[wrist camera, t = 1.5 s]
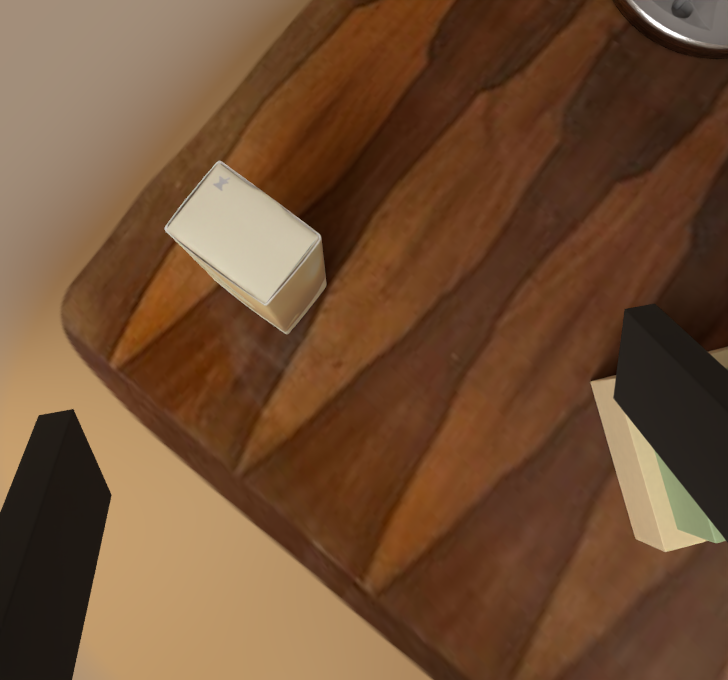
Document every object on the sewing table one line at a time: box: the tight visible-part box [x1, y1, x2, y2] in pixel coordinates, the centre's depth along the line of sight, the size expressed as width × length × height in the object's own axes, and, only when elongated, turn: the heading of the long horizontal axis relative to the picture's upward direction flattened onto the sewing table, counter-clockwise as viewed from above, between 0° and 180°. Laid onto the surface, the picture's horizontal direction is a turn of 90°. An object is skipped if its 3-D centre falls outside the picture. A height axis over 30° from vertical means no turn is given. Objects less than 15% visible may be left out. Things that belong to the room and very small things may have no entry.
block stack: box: [590, 347, 728, 552], centre depth 38 cm, size 10×10×8 cm
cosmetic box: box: [165, 161, 327, 334], centre depth 36 cm, size 6×4×12 cm
